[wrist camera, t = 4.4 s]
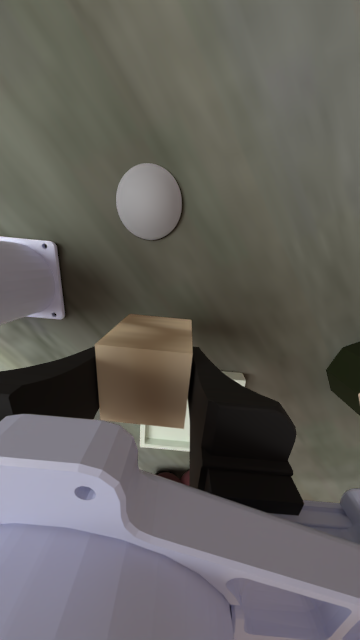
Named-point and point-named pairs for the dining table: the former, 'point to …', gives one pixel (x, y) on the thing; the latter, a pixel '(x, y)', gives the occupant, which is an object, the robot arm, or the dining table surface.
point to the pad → (149, 201)
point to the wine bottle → (346, 376)
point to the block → (145, 371)
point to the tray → (175, 436)
